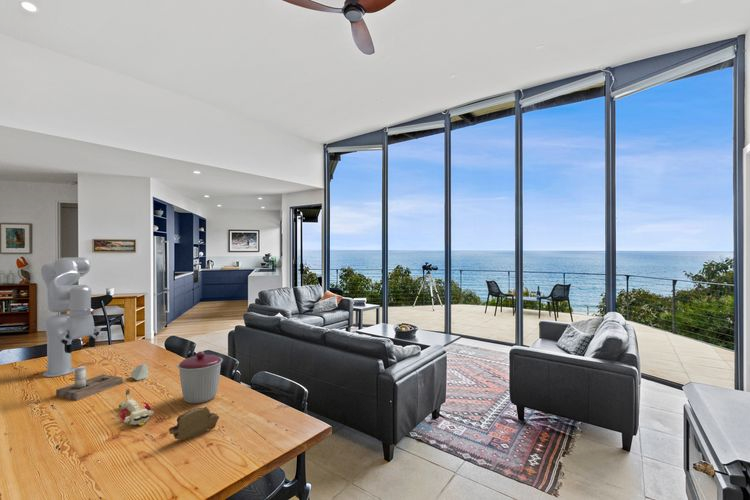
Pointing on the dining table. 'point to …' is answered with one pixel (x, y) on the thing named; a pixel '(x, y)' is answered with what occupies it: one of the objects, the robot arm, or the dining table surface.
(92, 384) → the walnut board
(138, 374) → the seashell
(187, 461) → the dining table surface
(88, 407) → the dining table surface
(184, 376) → the canister
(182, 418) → the wooden carving
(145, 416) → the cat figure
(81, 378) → the grey domed cylinder
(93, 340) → the robot arm
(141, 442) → the dining table surface
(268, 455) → the dining table surface
